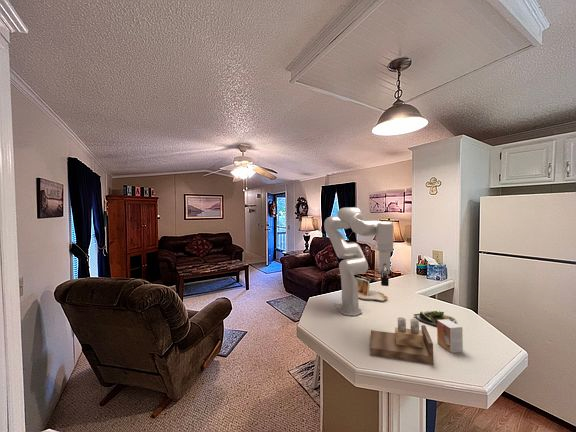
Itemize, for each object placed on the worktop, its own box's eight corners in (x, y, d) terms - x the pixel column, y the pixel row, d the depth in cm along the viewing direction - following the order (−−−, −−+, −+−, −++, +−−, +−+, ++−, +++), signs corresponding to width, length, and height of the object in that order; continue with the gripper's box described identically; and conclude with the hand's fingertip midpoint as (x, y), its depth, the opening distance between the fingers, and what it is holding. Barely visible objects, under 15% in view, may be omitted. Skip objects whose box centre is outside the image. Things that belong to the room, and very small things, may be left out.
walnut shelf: (370, 354, 102) (369, 335, 102) (370, 336, 117) (370, 319, 117) (433, 364, 94) (433, 343, 94) (425, 343, 109) (425, 325, 109)
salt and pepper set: (396, 344, 104) (395, 320, 104) (395, 338, 108) (394, 315, 108) (423, 347, 100) (422, 323, 100) (421, 341, 105) (420, 318, 105)
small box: (437, 343, 109) (436, 319, 109) (449, 342, 109) (448, 318, 109) (450, 353, 101) (449, 327, 101) (463, 352, 101) (462, 326, 101)
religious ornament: (346, 294, 179) (346, 277, 179) (369, 290, 185) (369, 275, 185) (367, 305, 156) (366, 287, 156) (393, 301, 162) (392, 283, 162)
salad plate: (428, 310, 146) (428, 302, 146) (463, 321, 131) (462, 312, 131) (410, 319, 135) (409, 310, 135) (445, 331, 120) (445, 322, 120)
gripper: (376, 244, 128) (376, 276, 129) (376, 250, 112) (376, 287, 113) (392, 245, 126) (391, 278, 126) (394, 251, 109) (394, 289, 110)
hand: (384, 282), depth 120 cm, fingers open, 9 cm apart
